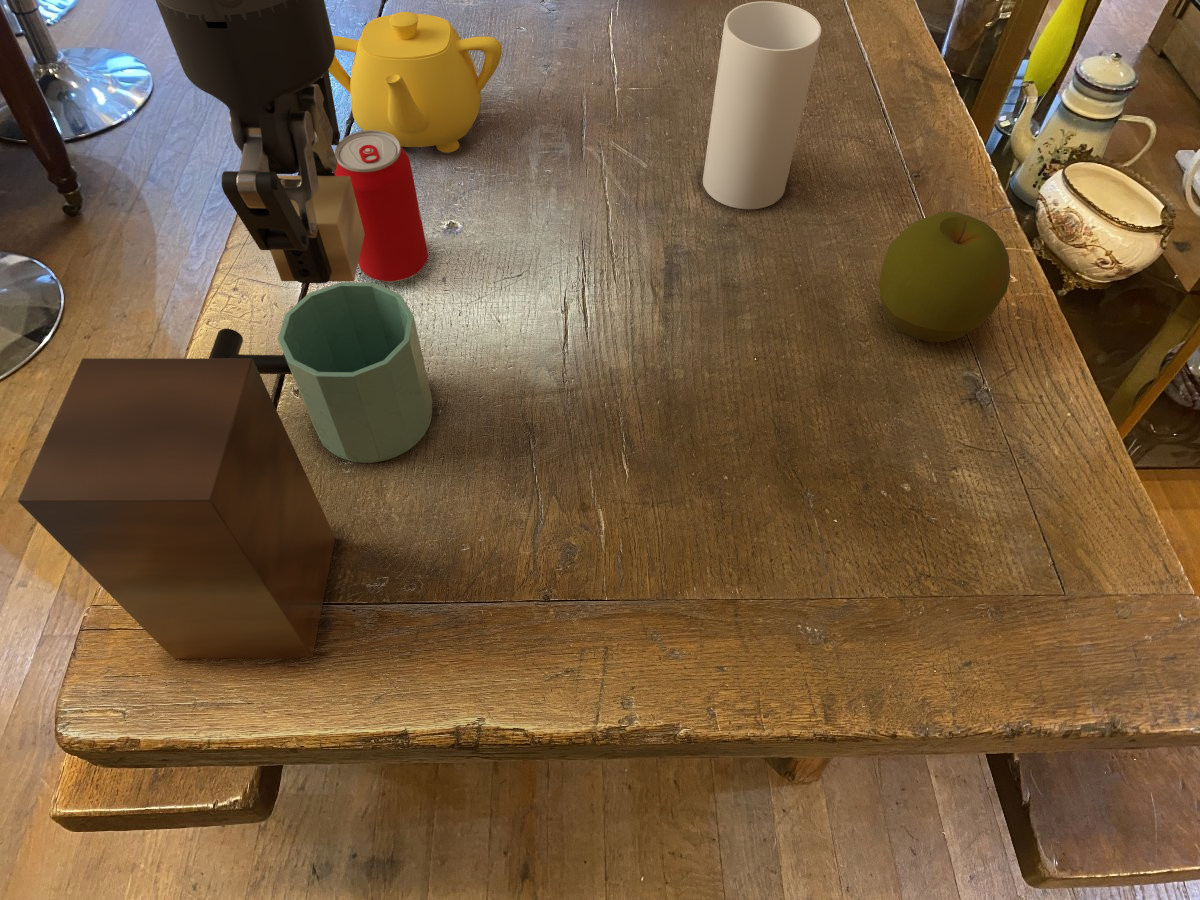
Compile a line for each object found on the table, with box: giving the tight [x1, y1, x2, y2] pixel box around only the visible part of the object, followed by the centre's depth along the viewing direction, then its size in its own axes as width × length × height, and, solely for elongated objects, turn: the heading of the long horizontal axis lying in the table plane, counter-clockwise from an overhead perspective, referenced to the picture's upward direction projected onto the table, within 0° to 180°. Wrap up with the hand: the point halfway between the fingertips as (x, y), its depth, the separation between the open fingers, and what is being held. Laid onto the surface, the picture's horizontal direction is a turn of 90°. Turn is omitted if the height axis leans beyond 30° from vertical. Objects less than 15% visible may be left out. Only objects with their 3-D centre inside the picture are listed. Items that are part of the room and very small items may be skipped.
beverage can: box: [332, 130, 429, 283], centre depth 73 cm, size 6×6×12 cm
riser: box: [17, 357, 336, 660], centre depth 50 cm, size 9×9×19 cm
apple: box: [877, 210, 1011, 343], centre depth 70 cm, size 10×10×11 cm
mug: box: [208, 281, 434, 464], centre depth 63 cm, size 15×9×10 cm, turn 90°
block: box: [269, 175, 365, 283], centre depth 52 cm, size 4×4×4 cm
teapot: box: [328, 11, 503, 153], centre depth 85 cm, size 14×14×12 cm
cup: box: [702, 0, 822, 210], centre depth 79 cm, size 8×8×16 cm
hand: (321, 250), depth 54 cm, fingers closed on block, 4 cm apart
